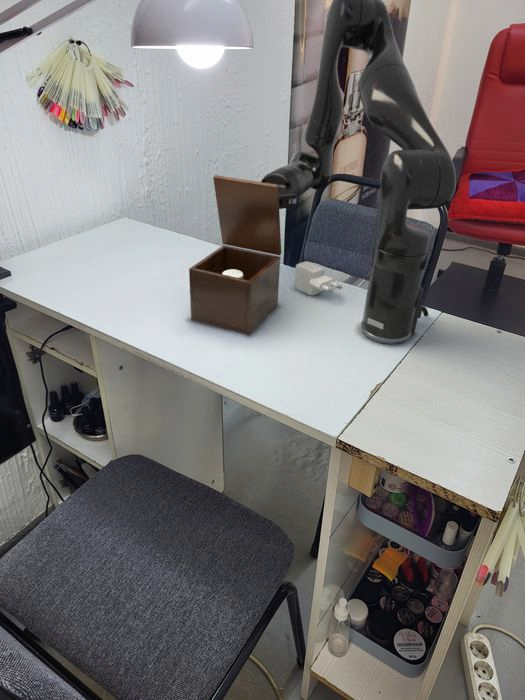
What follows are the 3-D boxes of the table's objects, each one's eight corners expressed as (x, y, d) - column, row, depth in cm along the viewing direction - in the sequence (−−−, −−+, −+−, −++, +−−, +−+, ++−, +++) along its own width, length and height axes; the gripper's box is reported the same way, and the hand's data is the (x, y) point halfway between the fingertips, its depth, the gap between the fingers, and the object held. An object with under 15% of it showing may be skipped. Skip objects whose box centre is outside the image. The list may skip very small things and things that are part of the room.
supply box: (249, 335, 97) (251, 282, 91) (191, 320, 101) (188, 268, 96) (277, 305, 108) (280, 256, 102) (223, 292, 112) (223, 245, 106)
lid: (276, 186, 91) (278, 184, 92) (213, 177, 95) (215, 175, 96) (279, 255, 101) (281, 253, 102) (222, 244, 106) (224, 241, 106)
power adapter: (343, 301, 111) (346, 275, 108) (327, 307, 108) (330, 281, 105) (306, 283, 118) (308, 258, 115) (290, 288, 115) (292, 263, 112)
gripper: (256, 164, 112) (217, 182, 98) (314, 172, 107) (282, 192, 94) (255, 199, 116) (218, 221, 102) (311, 208, 111) (280, 232, 98)
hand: (249, 207), depth 98 cm, fingers closed
